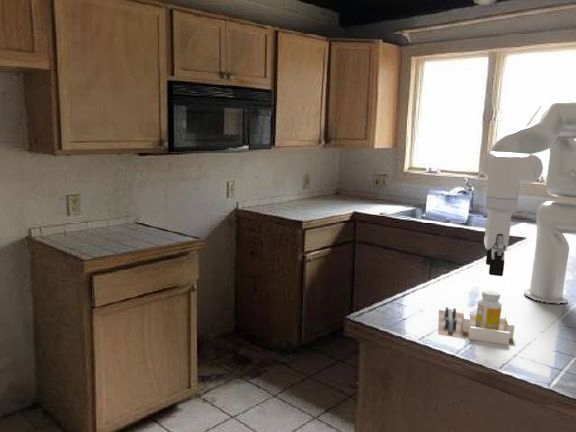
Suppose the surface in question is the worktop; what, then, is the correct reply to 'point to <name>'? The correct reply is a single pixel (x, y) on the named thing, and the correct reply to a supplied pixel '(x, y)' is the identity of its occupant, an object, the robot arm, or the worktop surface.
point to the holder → (489, 331)
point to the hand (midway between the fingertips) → (493, 269)
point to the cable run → (450, 320)
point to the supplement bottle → (489, 310)
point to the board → (458, 331)
